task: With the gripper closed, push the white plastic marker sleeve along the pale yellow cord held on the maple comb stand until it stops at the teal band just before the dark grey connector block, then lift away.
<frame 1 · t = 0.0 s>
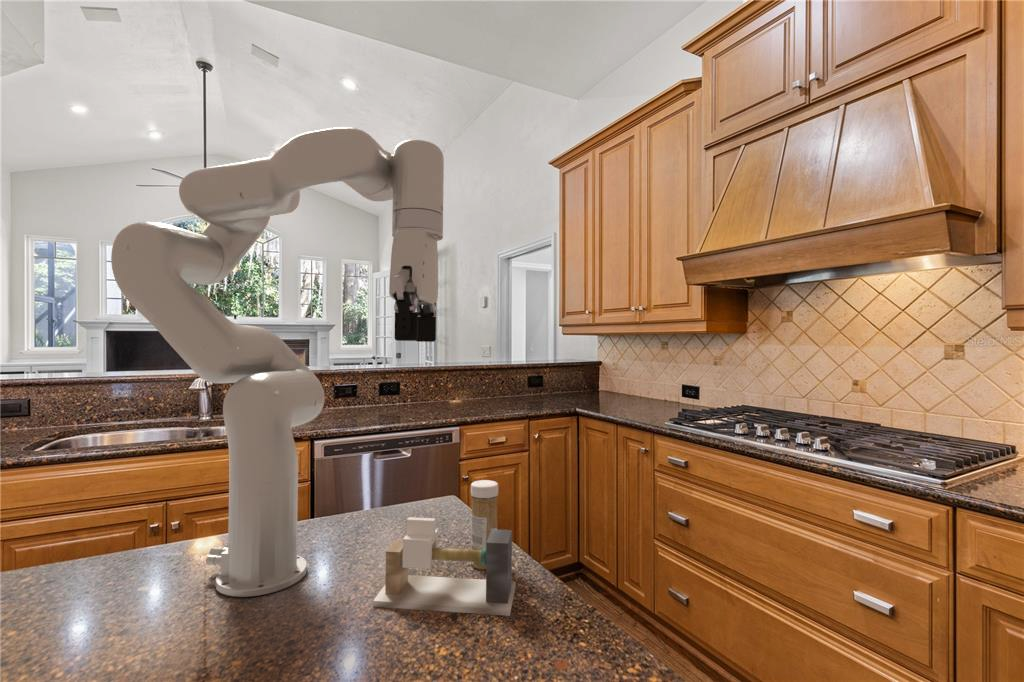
hand: (416, 341, 74), 37 cm above the countertop, tool pointing down, fingers open, 9 cm apart
cord stand: (447, 596, 71), on the countertop
sprinkles bottle: (483, 565, 81), on the countertop
sleeve: (420, 540, 71), point 8 cm above the countertop, slide at 0.0 cm
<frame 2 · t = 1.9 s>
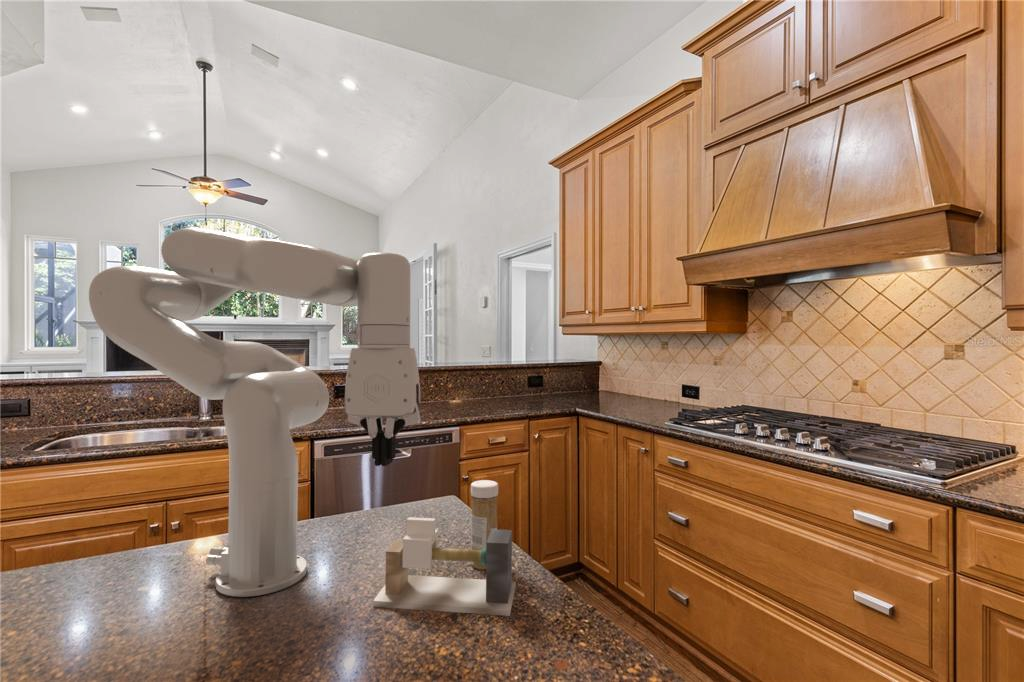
hand: (383, 463, 72), 19 cm above the countertop, tool pointing down, fingers closed
nothing on the countertop moved.
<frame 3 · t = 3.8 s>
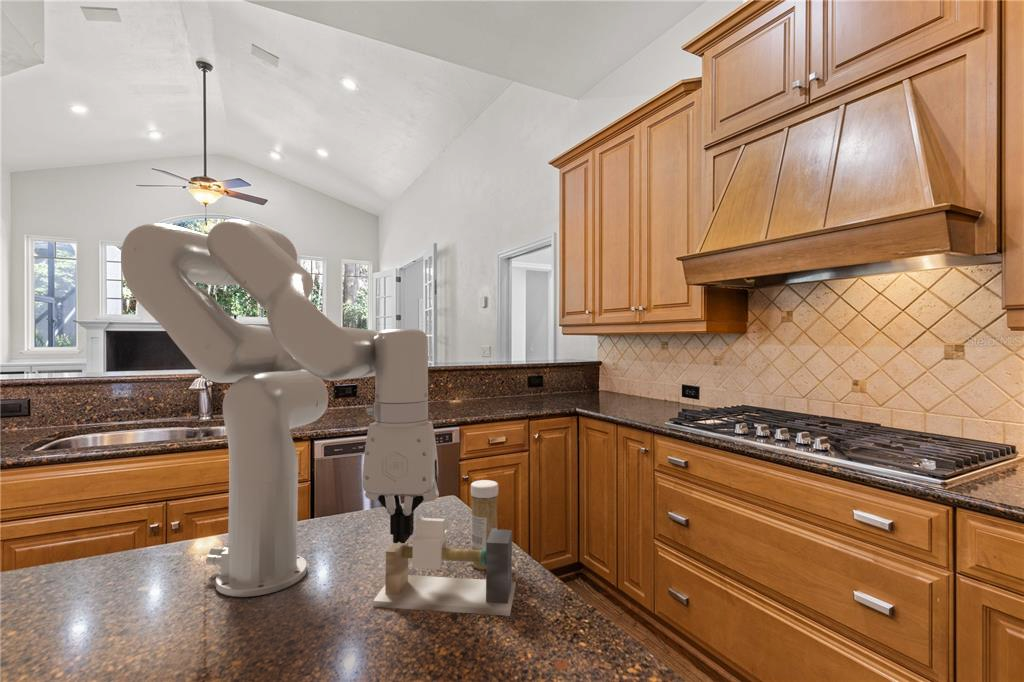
hand: (402, 539, 71), 8 cm above the countertop, tool pointing down, fingers closed
sleeve: (430, 540, 71), point 8 cm above the countertop, slide at 1.4 cm, touching gripper
everything else where it was.
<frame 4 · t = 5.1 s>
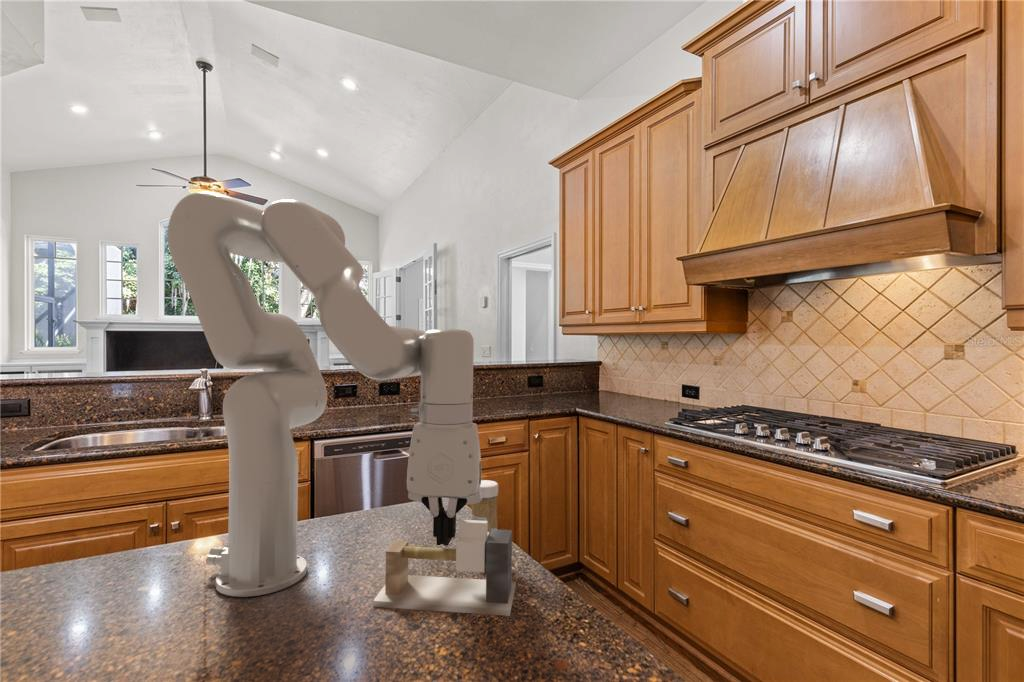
hand: (444, 541, 71), 8 cm above the countertop, tool pointing down, fingers closed
sleeve: (473, 543, 70), point 8 cm above the countertop, slide at 7.7 cm, touching gripper
everything else where it was.
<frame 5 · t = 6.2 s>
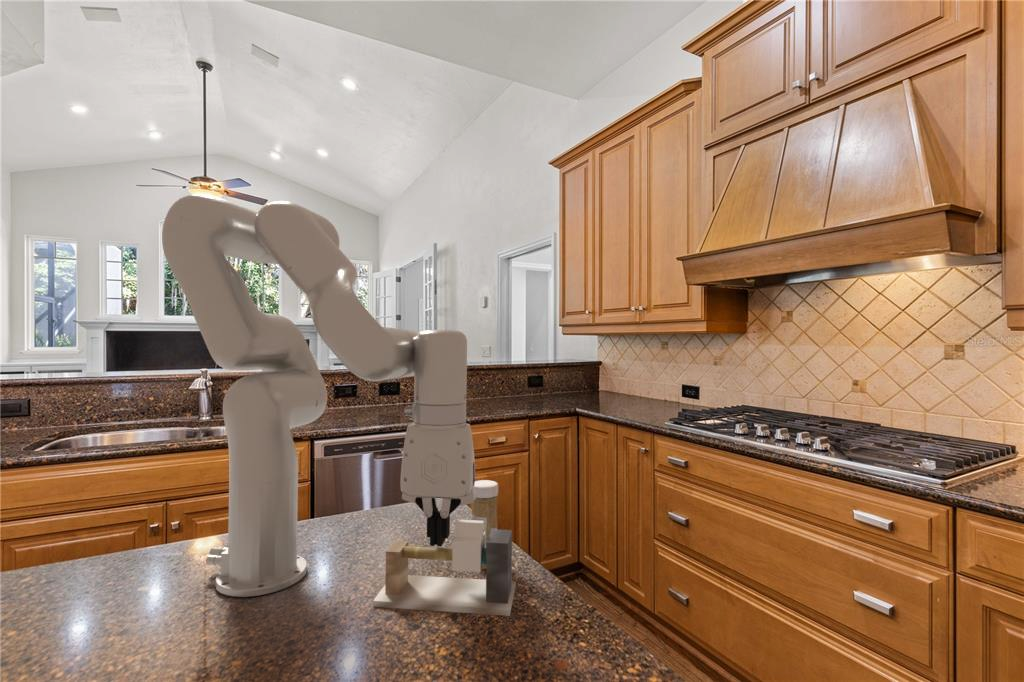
hand: (438, 542, 71), 8 cm above the countertop, tool pointing down, fingers closed
sleeve: (469, 542, 70), point 8 cm above the countertop, slide at 7.1 cm
everything else where it was.
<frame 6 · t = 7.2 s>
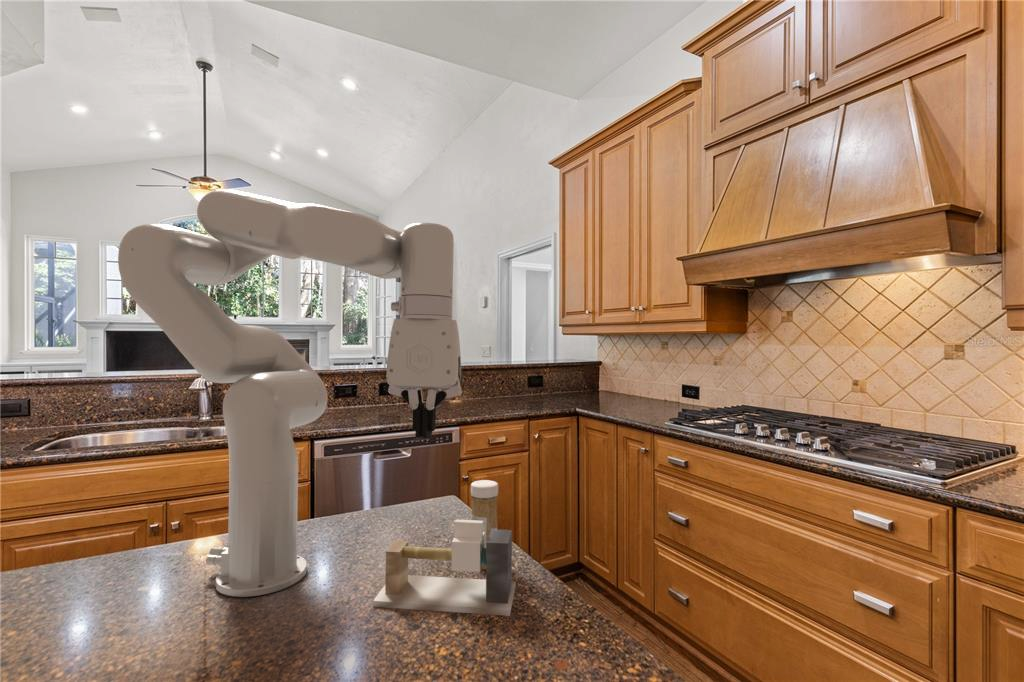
hand: (423, 435, 72), 23 cm above the countertop, tool pointing down, fingers closed
nothing on the countertop moved.
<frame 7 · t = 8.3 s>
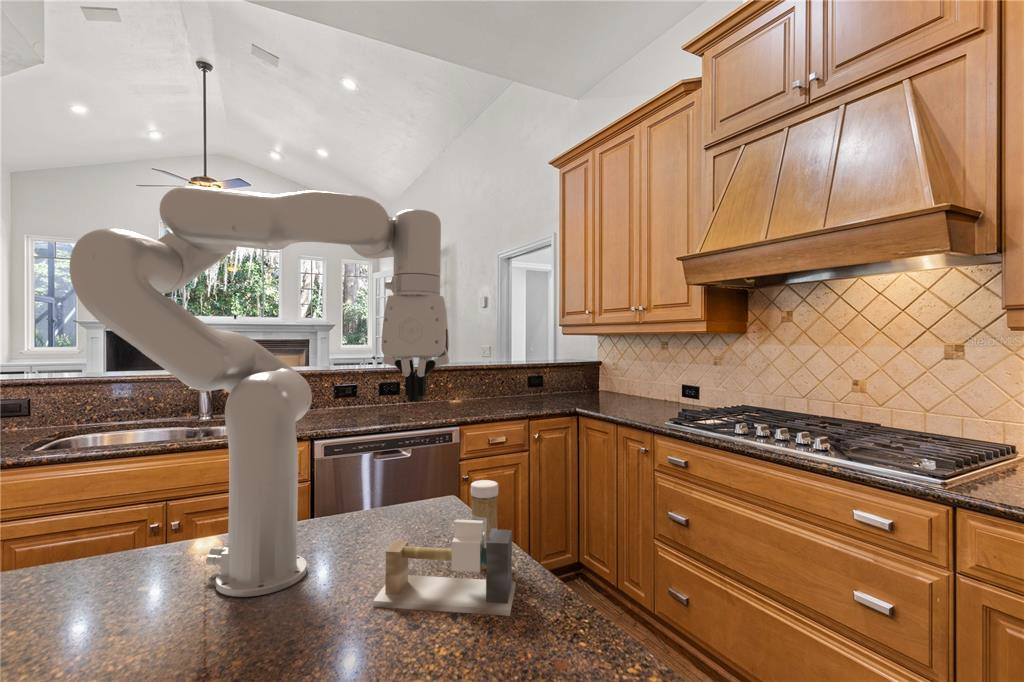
hand: (415, 400, 80), 27 cm above the countertop, tool pointing down, fingers closed
nothing on the countertop moved.
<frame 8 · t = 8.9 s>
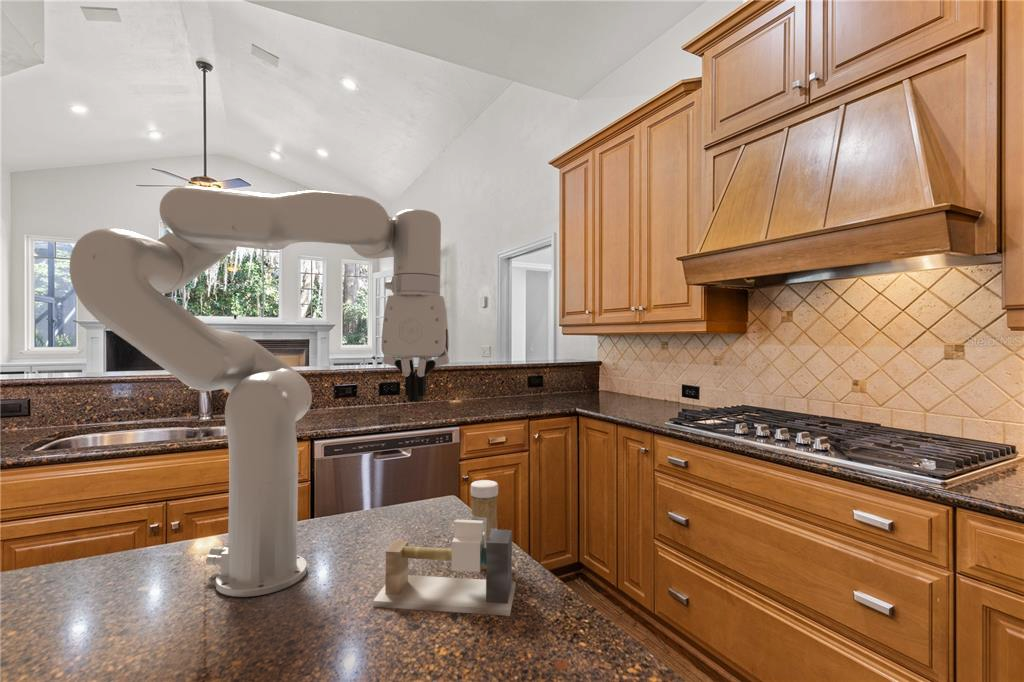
hand: (415, 400, 80), 27 cm above the countertop, tool pointing down, fingers closed
nothing on the countertop moved.
at the end: sleeve slide at 7.0 cm; sleeve touching nothing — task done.
